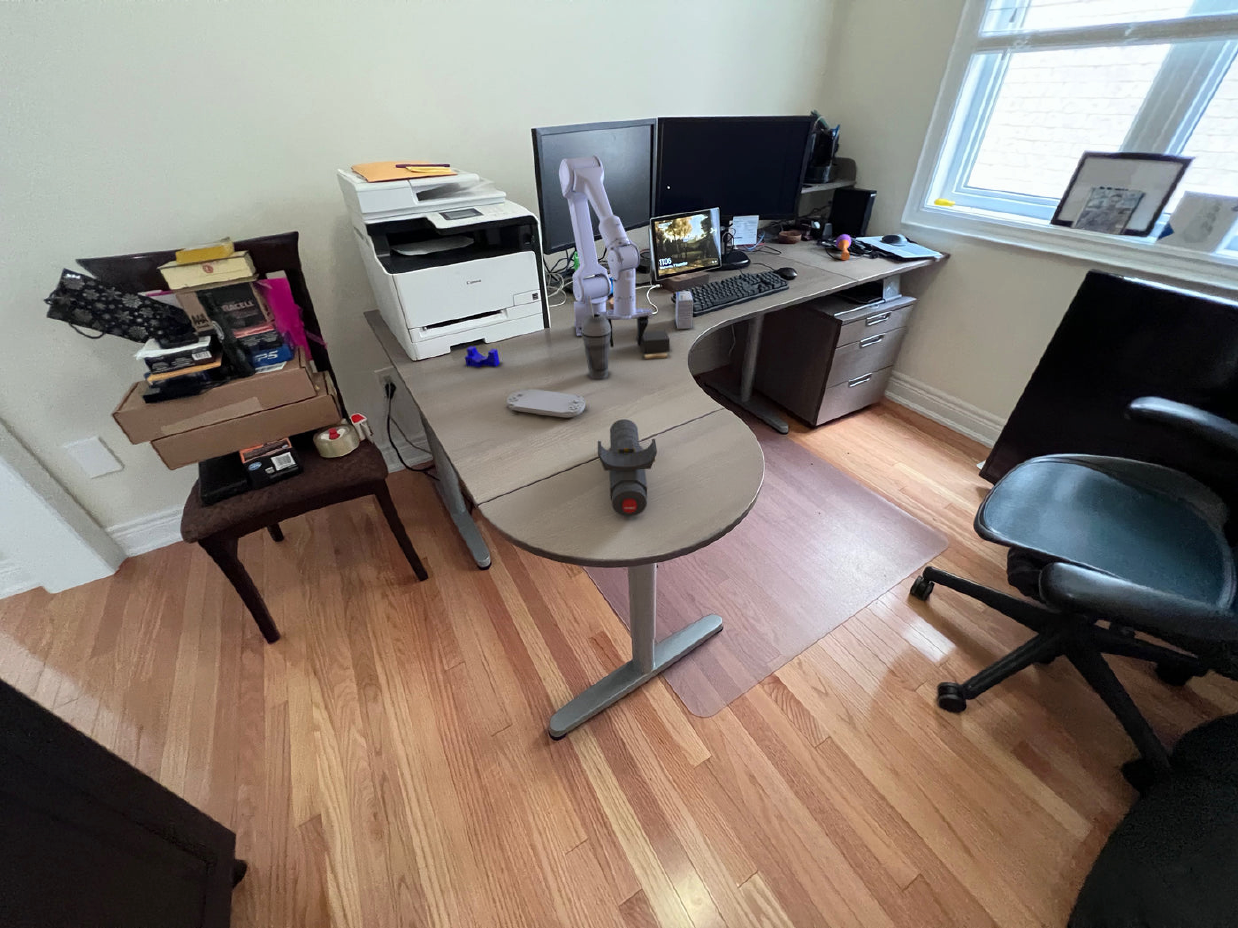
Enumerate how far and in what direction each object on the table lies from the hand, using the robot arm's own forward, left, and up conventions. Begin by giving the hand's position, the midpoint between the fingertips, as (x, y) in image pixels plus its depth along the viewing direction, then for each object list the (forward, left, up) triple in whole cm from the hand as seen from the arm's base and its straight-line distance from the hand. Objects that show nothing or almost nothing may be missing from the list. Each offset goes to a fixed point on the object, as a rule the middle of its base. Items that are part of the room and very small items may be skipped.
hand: (625, 344), depth 135 cm
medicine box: (+20, +15, -2) cm, 25 cm away
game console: (-21, -28, -2) cm, 35 cm away
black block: (+8, 0, -1) cm, 8 cm away
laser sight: (-6, -56, -2) cm, 56 cm away
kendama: (+100, +77, -2) cm, 127 cm away
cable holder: (-38, -3, -2) cm, 39 cm away
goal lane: (+8, 0, -1) cm, 8 cm away
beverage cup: (-8, -14, -2) cm, 16 cm away
